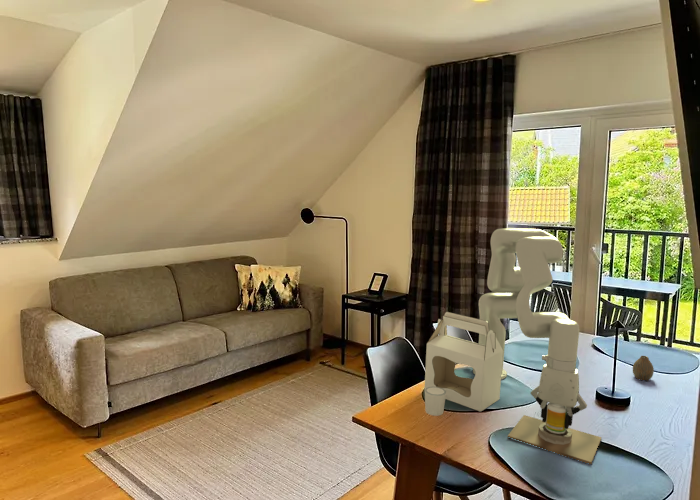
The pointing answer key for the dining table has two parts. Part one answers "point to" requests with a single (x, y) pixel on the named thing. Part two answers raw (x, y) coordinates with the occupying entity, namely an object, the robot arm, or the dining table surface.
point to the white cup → (434, 400)
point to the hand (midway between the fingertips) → (555, 423)
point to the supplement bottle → (556, 418)
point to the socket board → (569, 450)
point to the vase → (643, 368)
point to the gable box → (464, 362)
